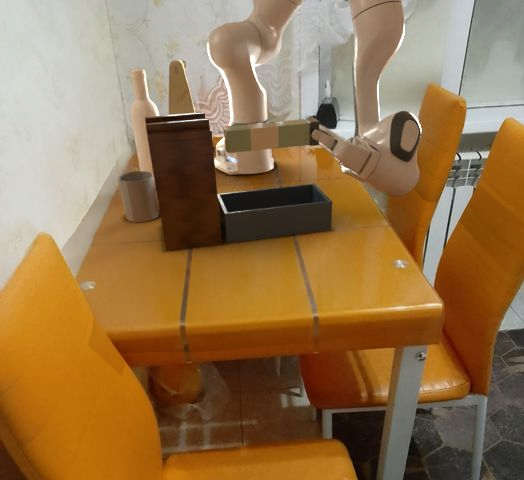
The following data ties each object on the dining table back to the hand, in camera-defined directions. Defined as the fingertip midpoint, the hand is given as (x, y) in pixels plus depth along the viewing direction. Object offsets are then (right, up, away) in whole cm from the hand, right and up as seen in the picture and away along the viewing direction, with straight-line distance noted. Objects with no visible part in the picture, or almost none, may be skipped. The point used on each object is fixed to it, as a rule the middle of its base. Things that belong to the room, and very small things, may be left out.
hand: (308, 129), depth 106 cm
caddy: (-34, +21, +66) cm, 77 cm away
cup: (-41, -14, +20) cm, 47 cm away
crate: (-7, -18, +11) cm, 23 cm away
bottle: (-42, +1, +40) cm, 58 cm away
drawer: (-8, -3, 0) cm, 9 cm away
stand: (-27, -21, +8) cm, 35 cm away
